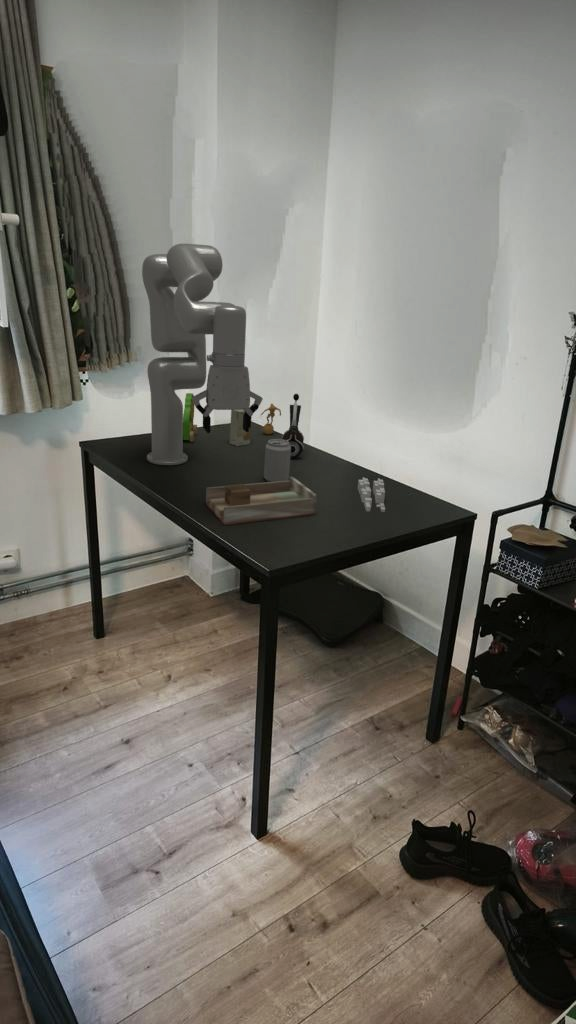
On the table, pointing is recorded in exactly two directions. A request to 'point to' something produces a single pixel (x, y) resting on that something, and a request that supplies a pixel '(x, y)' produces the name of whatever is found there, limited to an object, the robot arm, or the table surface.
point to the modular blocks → (366, 493)
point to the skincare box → (238, 429)
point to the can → (277, 460)
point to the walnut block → (237, 495)
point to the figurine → (268, 427)
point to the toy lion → (189, 419)
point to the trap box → (264, 502)
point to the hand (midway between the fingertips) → (226, 431)
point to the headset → (294, 430)
